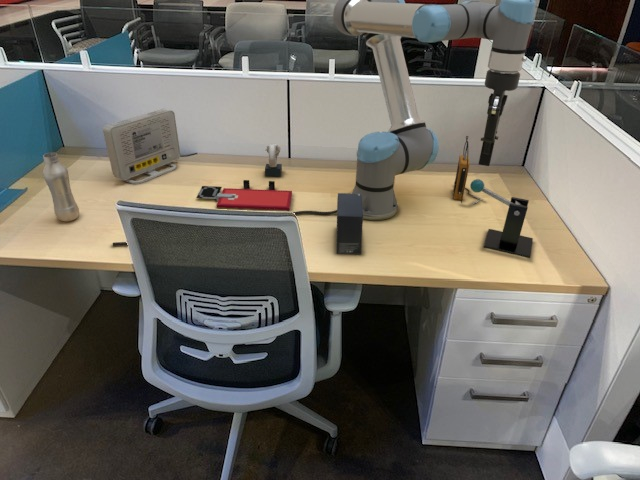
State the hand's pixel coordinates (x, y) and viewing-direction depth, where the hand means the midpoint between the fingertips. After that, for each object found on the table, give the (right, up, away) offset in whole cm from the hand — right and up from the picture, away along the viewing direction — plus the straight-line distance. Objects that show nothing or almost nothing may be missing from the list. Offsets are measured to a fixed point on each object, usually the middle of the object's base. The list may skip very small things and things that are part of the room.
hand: (484, 164), depth 125 cm
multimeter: (+6, -6, +34) cm, 35 cm away
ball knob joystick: (+4, -10, +4) cm, 11 cm away
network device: (-103, +4, +45) cm, 113 cm away
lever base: (+9, -21, +8) cm, 25 cm away
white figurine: (-59, +4, +46) cm, 75 cm away
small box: (-35, -20, +9) cm, 41 cm away
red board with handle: (-67, -6, +30) cm, 74 cm away
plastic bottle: (-117, -14, +17) cm, 119 cm away
